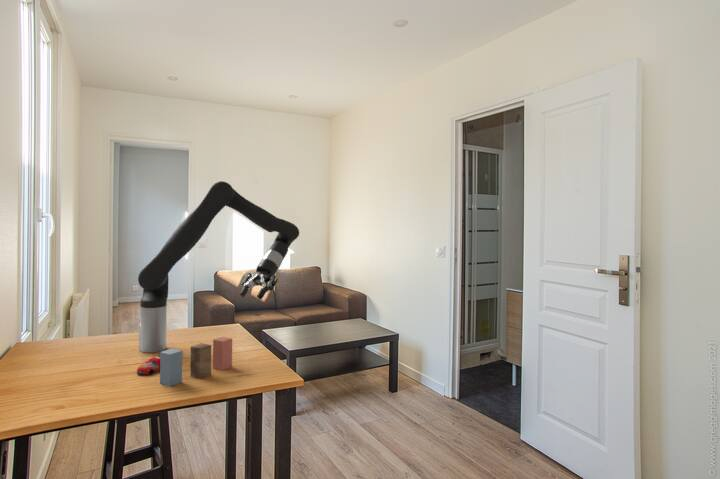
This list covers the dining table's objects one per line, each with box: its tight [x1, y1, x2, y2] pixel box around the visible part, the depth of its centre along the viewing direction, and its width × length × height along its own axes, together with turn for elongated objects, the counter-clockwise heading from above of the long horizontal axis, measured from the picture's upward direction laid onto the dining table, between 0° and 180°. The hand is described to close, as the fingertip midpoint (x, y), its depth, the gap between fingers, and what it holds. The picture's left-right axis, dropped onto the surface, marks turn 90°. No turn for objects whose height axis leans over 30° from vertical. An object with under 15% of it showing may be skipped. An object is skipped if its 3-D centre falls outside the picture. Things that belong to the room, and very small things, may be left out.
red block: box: [212, 336, 233, 371], centre depth 147 cm, size 4×4×10 cm
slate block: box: [159, 348, 183, 387], centre depth 132 cm, size 4×4×10 cm
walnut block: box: [189, 342, 212, 380], centre depth 139 cm, size 4×4×10 cm
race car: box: [136, 355, 160, 376], centre depth 144 cm, size 13×5×4 cm, turn 161°
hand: (250, 296), depth 158 cm, fingers open, 8 cm apart
